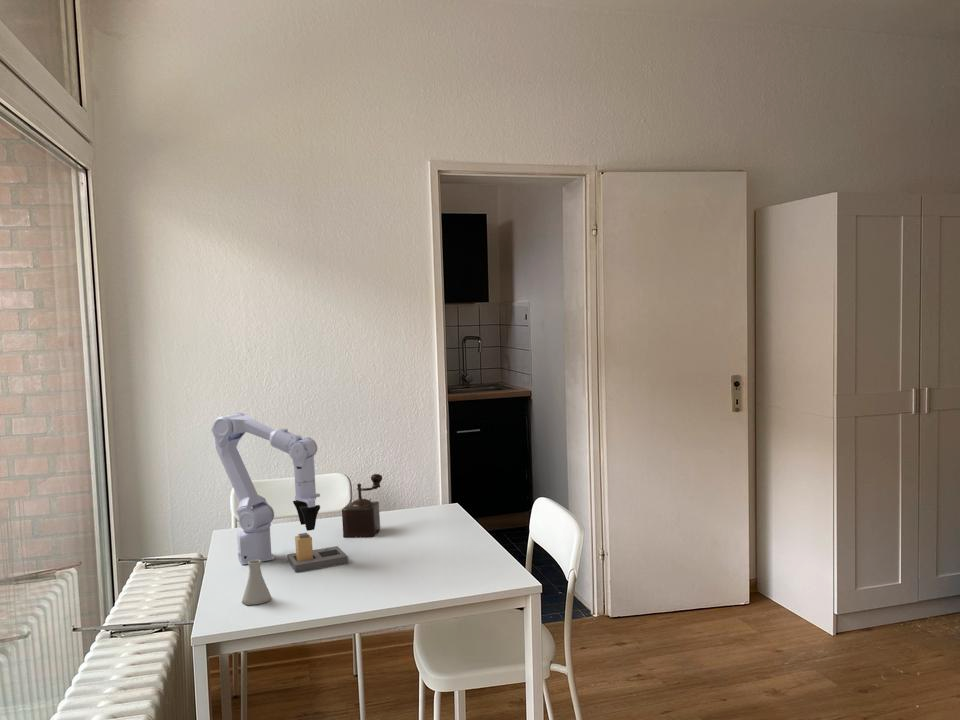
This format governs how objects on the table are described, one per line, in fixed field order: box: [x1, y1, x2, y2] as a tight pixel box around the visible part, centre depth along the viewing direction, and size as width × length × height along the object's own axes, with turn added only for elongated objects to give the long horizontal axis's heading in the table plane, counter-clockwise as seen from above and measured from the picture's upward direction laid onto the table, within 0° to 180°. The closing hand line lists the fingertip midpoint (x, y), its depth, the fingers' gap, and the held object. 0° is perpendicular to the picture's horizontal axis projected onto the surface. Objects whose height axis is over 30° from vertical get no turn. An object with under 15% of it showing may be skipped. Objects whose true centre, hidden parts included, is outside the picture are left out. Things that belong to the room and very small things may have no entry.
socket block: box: [286, 545, 349, 573], centre depth 219 cm, size 15×12×2 cm
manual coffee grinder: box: [341, 473, 383, 539], centre depth 250 cm, size 16×11×18 cm
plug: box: [294, 532, 314, 561], centre depth 217 cm, size 4×4×9 cm
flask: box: [241, 560, 272, 606], centre depth 189 cm, size 7×7×10 cm
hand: (307, 527), depth 219 cm, fingers open, 7 cm apart
